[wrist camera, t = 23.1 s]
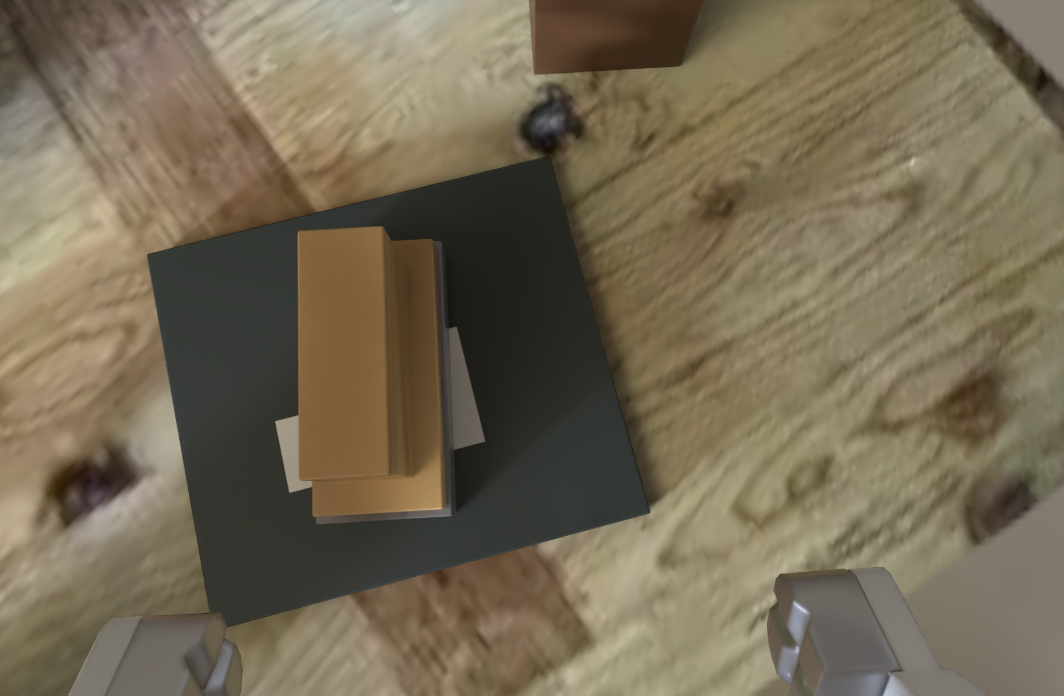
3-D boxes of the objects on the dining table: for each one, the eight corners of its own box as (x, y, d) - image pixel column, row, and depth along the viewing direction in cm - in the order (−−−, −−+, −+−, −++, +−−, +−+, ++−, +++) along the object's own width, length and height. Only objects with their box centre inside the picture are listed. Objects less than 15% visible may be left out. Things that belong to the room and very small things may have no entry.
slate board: (549, 162, 34) (549, 155, 34) (647, 512, 32) (651, 513, 31) (154, 259, 33) (145, 253, 33) (220, 627, 31) (211, 631, 30)
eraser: (445, 253, 33) (419, 179, 25) (456, 514, 31) (431, 523, 23) (325, 260, 33) (259, 188, 25) (327, 522, 31) (257, 534, 23)
